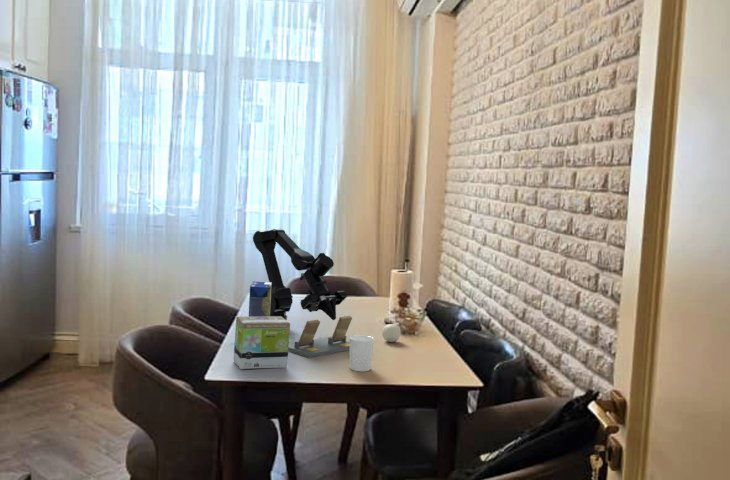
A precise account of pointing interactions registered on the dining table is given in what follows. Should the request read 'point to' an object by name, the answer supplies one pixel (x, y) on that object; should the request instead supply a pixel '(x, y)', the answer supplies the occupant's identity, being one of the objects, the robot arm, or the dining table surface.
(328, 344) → the twin lever plate
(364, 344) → the white cup
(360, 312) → the dining table surface
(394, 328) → the baseball
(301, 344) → the lever
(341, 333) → the lever
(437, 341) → the dining table surface
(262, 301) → the beverage box
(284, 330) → the tea box
